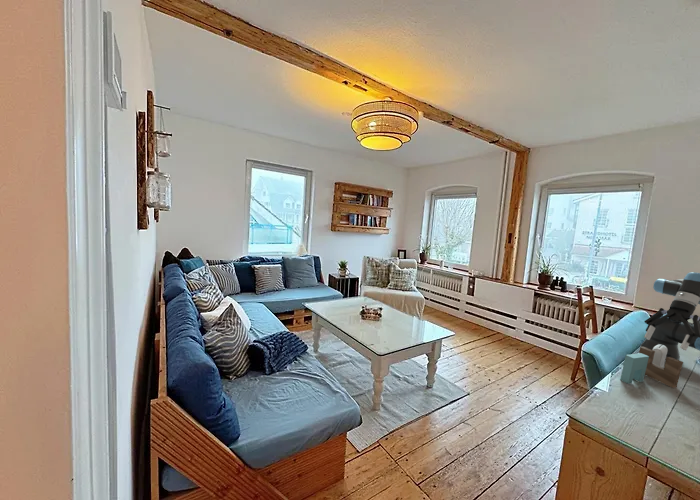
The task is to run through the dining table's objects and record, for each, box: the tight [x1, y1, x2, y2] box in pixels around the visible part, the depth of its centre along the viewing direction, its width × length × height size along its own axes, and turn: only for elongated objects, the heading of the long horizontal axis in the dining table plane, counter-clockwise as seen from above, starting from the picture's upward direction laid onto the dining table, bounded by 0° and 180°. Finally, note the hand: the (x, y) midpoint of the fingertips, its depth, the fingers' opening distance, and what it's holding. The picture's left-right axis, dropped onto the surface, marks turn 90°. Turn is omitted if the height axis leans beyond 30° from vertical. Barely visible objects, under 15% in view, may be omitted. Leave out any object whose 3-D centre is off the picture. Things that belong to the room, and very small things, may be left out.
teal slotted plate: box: [620, 352, 649, 384], centre depth 133 cm, size 10×3×12 cm, turn 107°
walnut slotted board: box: [638, 346, 684, 389], centre depth 136 cm, size 2×14×12 cm, turn 17°
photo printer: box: [652, 344, 668, 368], centre depth 145 cm, size 10×4×12 cm, turn 123°
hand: (664, 343), depth 138 cm, fingers open, 13 cm apart
